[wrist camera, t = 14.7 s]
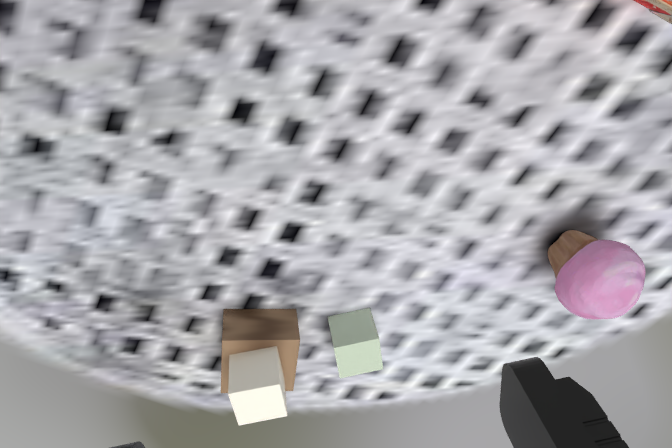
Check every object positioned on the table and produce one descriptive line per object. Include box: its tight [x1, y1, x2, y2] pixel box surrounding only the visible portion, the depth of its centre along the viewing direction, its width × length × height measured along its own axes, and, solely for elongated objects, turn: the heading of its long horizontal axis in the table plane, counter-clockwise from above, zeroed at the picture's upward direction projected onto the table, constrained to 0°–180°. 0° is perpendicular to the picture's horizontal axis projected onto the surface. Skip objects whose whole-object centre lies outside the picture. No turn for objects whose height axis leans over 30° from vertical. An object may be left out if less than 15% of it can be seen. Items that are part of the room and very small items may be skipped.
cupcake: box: [548, 230, 645, 319], centre depth 54 cm, size 9×9×10 cm
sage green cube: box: [328, 308, 383, 378], centre depth 58 cm, size 5×5×5 cm
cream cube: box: [228, 346, 287, 425], centre depth 53 cm, size 5×5×5 cm
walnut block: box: [221, 309, 300, 393], centre depth 57 cm, size 8×8×5 cm
